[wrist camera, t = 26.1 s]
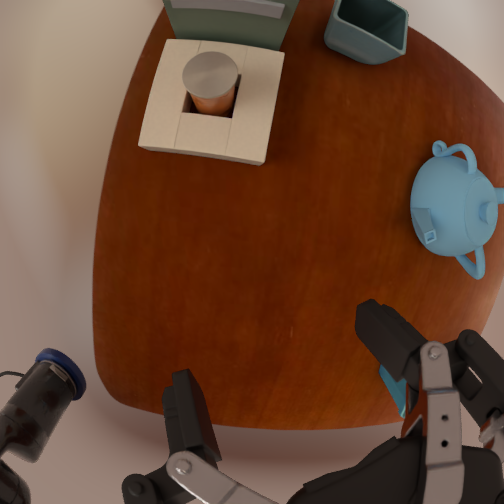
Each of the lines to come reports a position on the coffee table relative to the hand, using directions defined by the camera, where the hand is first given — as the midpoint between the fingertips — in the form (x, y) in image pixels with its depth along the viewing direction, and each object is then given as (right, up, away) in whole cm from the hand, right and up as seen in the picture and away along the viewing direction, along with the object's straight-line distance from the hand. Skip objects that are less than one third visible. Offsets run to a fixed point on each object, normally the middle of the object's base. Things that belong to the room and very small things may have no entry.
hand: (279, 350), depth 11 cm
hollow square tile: (-6, +21, +16) cm, 28 cm away
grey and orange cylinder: (-6, +21, +16) cm, 28 cm away
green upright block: (-4, +31, +14) cm, 34 cm away
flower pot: (+12, +33, +15) cm, 38 cm away
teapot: (+27, +11, +22) cm, 36 cm away
